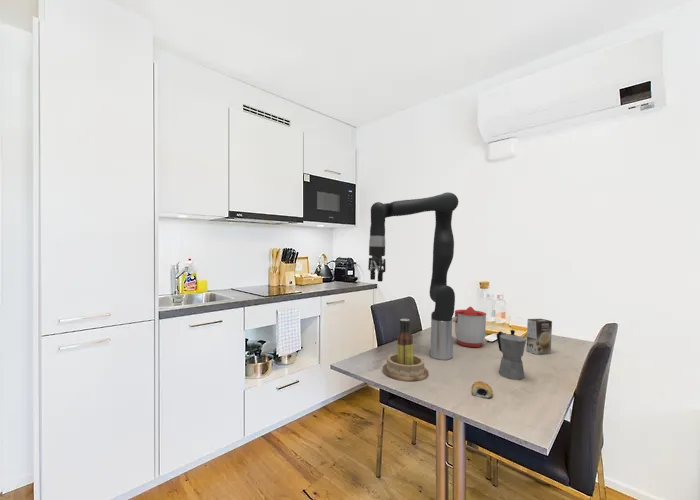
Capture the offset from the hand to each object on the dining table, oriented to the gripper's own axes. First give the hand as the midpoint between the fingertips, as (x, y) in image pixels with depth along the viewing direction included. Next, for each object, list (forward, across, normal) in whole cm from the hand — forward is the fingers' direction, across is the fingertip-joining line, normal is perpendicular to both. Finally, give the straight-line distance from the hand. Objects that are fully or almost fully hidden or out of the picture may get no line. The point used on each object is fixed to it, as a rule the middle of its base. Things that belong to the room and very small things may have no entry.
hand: (376, 280), depth 148 cm
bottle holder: (+34, -24, -3) cm, 42 cm away
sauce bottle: (+33, -24, -3) cm, 41 cm away
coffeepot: (+34, -37, -43) cm, 66 cm away
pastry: (+35, -48, -20) cm, 62 cm away
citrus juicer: (+34, +1, -54) cm, 64 cm away
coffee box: (+34, -19, -80) cm, 89 cm away
